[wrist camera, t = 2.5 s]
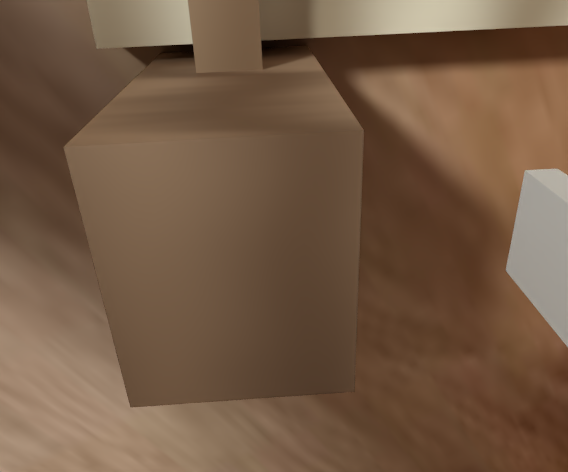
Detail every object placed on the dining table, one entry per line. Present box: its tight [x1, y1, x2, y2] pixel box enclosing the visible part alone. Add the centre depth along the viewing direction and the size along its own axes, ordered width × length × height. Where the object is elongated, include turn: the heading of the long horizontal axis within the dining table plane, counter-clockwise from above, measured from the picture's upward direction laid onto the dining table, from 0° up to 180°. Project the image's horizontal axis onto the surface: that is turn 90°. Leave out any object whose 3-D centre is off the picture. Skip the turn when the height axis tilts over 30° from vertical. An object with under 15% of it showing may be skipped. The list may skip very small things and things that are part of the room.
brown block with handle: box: [63, 0, 364, 407], centre depth 13 cm, size 5×13×10 cm, turn 2°
